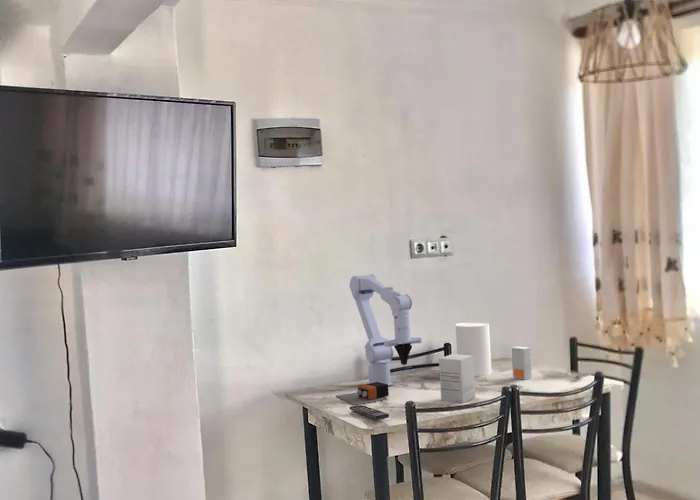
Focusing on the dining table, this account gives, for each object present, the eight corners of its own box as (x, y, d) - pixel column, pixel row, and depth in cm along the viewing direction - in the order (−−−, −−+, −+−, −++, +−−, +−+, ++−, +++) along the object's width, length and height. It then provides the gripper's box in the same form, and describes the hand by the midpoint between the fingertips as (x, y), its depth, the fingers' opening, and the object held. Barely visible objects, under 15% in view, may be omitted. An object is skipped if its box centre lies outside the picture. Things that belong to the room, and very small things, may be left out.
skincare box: (512, 378, 282) (510, 347, 282) (519, 376, 284) (518, 345, 284) (524, 380, 277) (523, 348, 277) (532, 378, 280) (530, 347, 279)
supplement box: (453, 395, 258) (451, 353, 258) (476, 397, 252) (473, 355, 252) (440, 400, 251) (437, 357, 251) (462, 403, 245) (460, 359, 245)
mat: (336, 396, 267) (336, 395, 267) (368, 391, 272) (368, 390, 272) (353, 405, 251) (353, 404, 251) (387, 400, 256) (387, 399, 256)
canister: (451, 372, 299) (449, 324, 299) (478, 368, 305) (476, 321, 304) (470, 377, 287) (467, 327, 286) (498, 373, 293) (495, 324, 292)
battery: (389, 396, 261) (367, 401, 255) (377, 393, 266) (355, 398, 260) (388, 384, 261) (366, 388, 255) (377, 381, 266) (355, 386, 260)
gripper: (388, 330, 262) (390, 368, 263) (424, 327, 268) (426, 363, 268) (380, 328, 269) (382, 365, 269) (416, 325, 274) (417, 360, 275)
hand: (404, 364), depth 269 cm, fingers closed
